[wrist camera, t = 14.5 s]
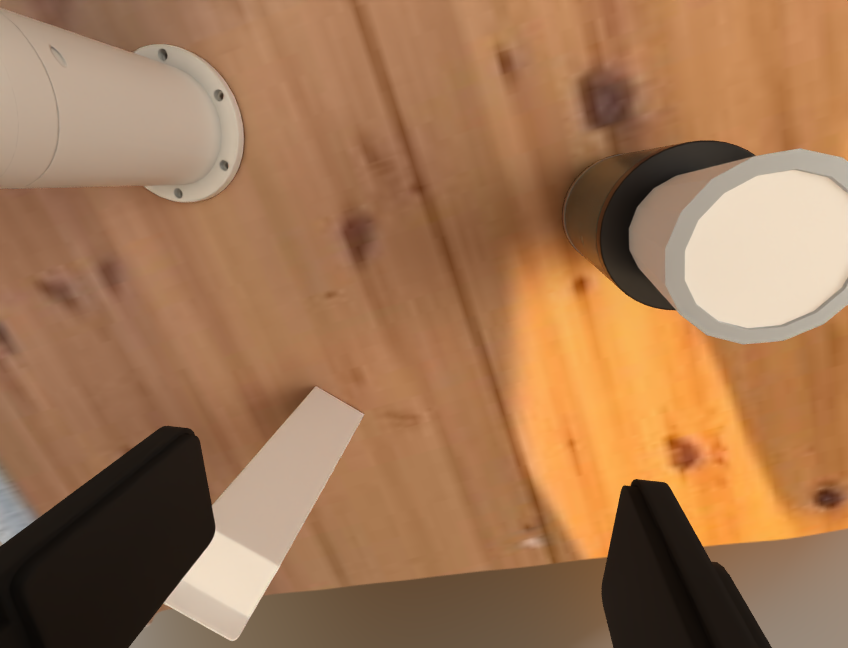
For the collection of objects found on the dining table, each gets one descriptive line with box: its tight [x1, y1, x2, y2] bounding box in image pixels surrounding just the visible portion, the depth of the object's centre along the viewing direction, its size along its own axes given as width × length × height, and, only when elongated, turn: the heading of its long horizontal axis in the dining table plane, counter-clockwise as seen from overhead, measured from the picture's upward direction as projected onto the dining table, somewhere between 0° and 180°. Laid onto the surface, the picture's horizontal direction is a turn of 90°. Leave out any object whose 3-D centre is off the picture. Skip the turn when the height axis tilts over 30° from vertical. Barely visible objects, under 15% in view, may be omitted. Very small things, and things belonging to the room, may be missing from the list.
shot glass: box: [629, 149, 848, 344], centre depth 18 cm, size 7×7×7 cm
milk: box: [164, 386, 364, 641], centre depth 35 cm, size 6×6×22 cm
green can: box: [562, 141, 755, 310], centre depth 28 cm, size 8×8×14 cm
